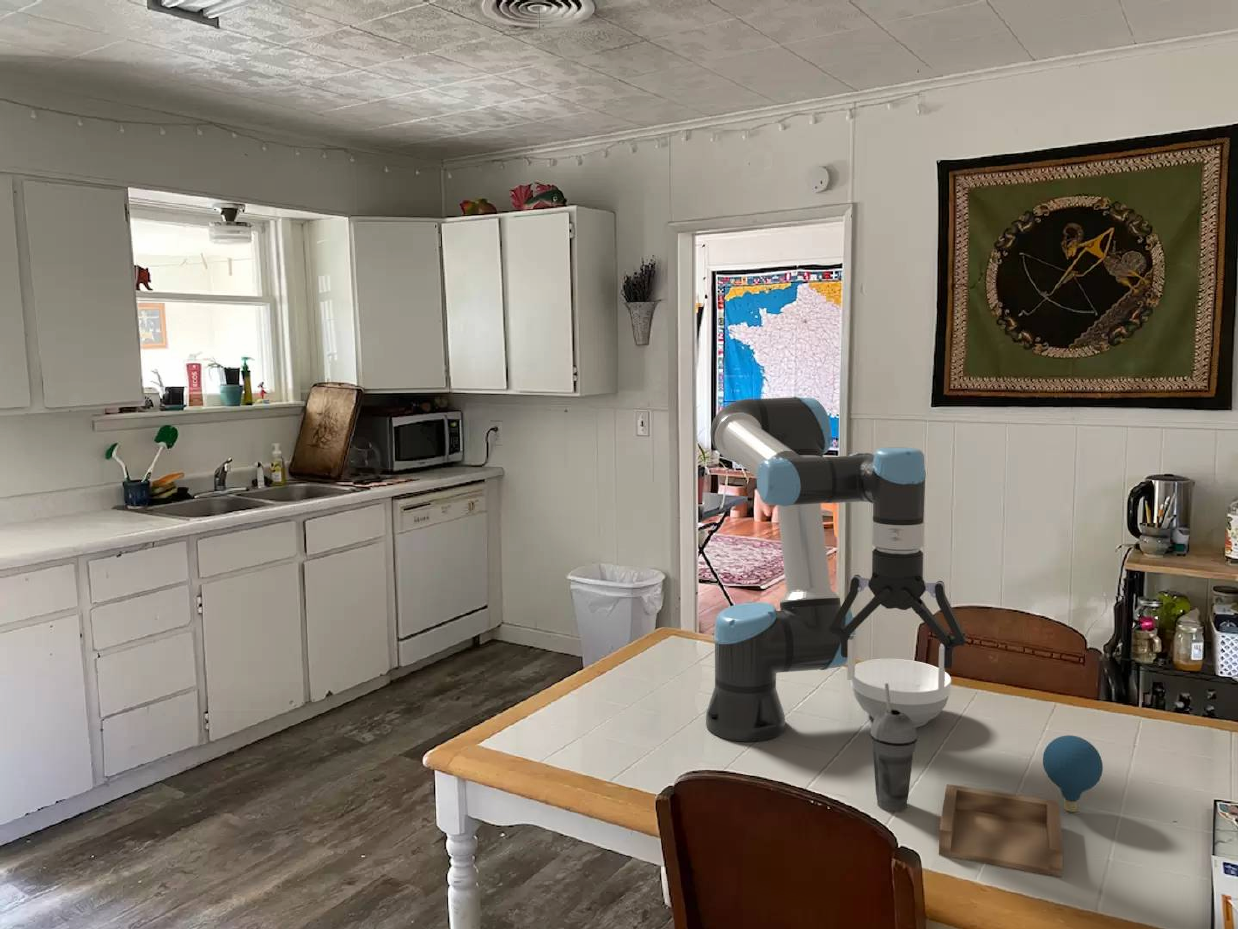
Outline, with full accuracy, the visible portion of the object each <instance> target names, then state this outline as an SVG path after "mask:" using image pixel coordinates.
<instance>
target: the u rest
mask: <svg viewBox="0 0 1238 929" xmlns="http://www.w3.org/2000/svg"><path fill="white" fill-rule="evenodd" d="M945 786H946V788H945V793H944V800H943V804H942V810H941V817H940V823H939V824H940V825H939V833H938V834H939V836H938V839H939V840H938V855H941V856H945V857H950V858H951V857H952V858H958V859H962V860H966V861H967V860H968V861H973V862H979V863H984V864H988V865H994V866H1001V867H1005V868H1009V869H1010V868H1011V869H1016V870H1021V871H1025V872H1027V871H1028V872H1032V873H1037V874H1042V875H1048V876H1053V877H1059V878H1062V876H1063V860H1064V859H1063V855H1064V851H1063V850H1064V849H1063V840H1062V839H1063V838H1062V837H1063V836H1062V827H1061V826H1062V825H1061V814H1060V804H1059V803H1060V802H1059V801H1056V800H1050V799H1043V798H1038V797H1030V796H1024V795H1019V794H1013V793H1007V792H1000V791H993V790H988V789H981V788H974V787H967V786H963V785H962V786H961V785H955V784H949V783H947V784H946V785H945Z"/></svg>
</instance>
